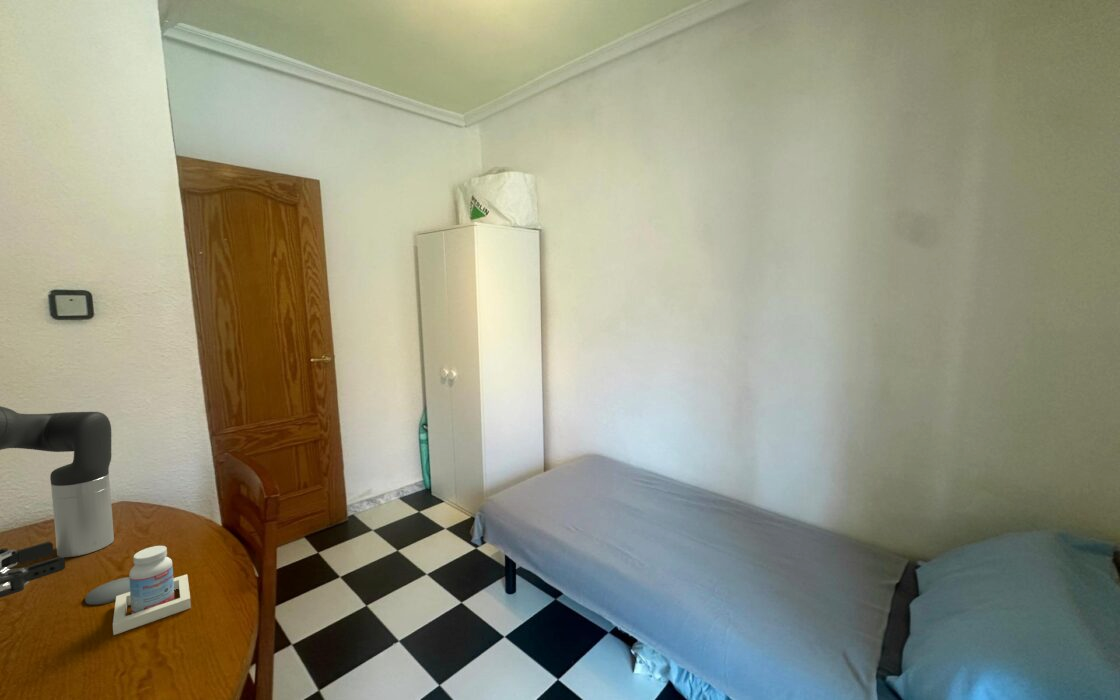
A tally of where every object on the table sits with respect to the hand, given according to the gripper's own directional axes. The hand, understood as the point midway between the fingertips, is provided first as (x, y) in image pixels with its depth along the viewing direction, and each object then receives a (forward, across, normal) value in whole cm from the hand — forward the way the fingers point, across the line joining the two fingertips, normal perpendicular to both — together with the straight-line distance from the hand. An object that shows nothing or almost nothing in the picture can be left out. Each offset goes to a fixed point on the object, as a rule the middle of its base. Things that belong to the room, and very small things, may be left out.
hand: (58, 554), depth 71 cm
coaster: (+9, +13, +16) cm, 22 cm away
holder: (+12, 0, +16) cm, 20 cm away
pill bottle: (+12, 0, +16) cm, 20 cm away
